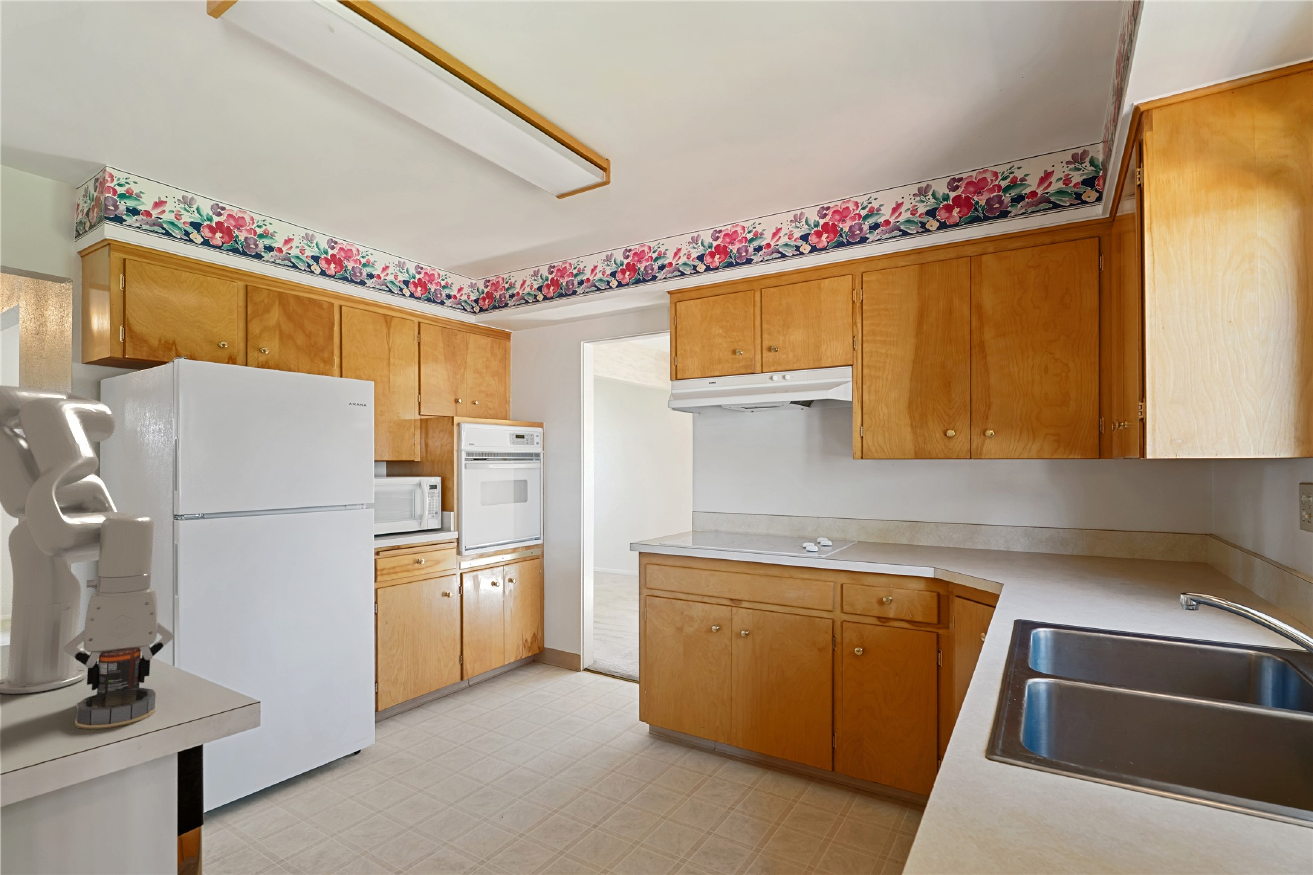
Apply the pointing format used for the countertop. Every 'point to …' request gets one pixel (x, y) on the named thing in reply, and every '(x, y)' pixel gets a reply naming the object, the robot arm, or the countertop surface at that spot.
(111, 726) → the mount collar
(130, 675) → the supplement bottle
